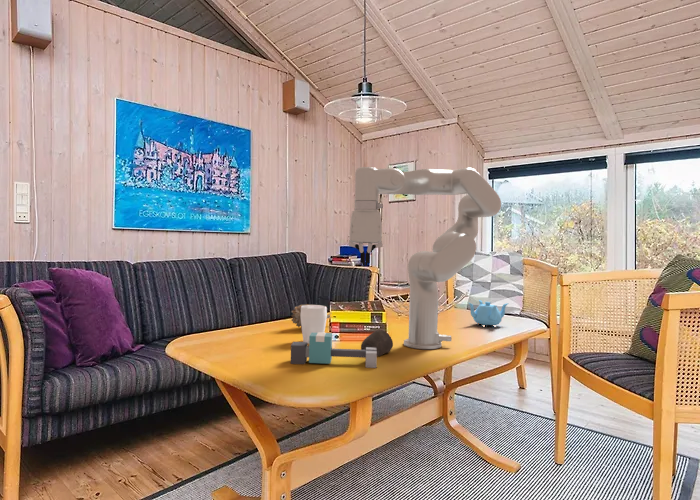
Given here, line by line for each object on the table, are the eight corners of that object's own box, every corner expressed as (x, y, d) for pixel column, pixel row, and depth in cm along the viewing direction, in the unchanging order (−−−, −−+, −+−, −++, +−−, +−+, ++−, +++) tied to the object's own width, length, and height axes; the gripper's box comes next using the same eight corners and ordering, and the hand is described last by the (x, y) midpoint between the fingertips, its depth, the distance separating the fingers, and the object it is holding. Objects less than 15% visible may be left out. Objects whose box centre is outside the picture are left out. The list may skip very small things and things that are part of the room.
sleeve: (331, 358, 136) (332, 332, 136) (330, 363, 131) (330, 336, 131) (311, 358, 136) (311, 332, 136) (308, 362, 131) (309, 335, 131)
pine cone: (301, 333, 173) (301, 306, 172) (285, 329, 179) (285, 303, 179) (343, 326, 188) (344, 301, 188) (327, 323, 195) (328, 299, 195)
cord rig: (376, 361, 136) (376, 343, 136) (376, 367, 130) (376, 349, 129) (293, 358, 137) (294, 340, 137) (289, 364, 130) (290, 346, 130)
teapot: (466, 325, 197) (466, 301, 197) (479, 321, 207) (480, 298, 207) (495, 330, 189) (496, 305, 189) (508, 325, 199) (508, 301, 199)
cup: (322, 345, 154) (323, 309, 154) (296, 343, 156) (297, 307, 156) (329, 339, 163) (330, 305, 163) (304, 338, 165) (305, 304, 165)
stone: (360, 367, 144) (378, 349, 139) (352, 343, 149) (369, 325, 144) (385, 367, 150) (403, 350, 144) (376, 344, 155) (393, 327, 149)
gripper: (389, 208, 151) (388, 265, 152) (343, 207, 152) (341, 264, 152) (390, 206, 144) (389, 266, 144) (341, 205, 144) (340, 265, 145)
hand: (364, 265), depth 148 cm, fingers closed
